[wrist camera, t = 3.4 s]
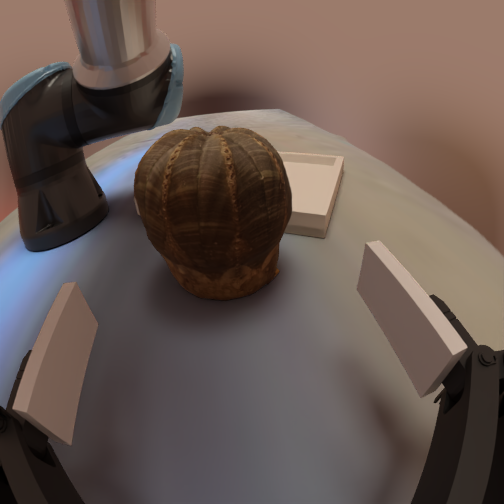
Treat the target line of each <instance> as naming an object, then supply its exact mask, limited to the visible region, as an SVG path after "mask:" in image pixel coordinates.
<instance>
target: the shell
mask: <svg viewBox="0 0 504 504" xmlns="http://www.w3.org/2000/svg"><path fill="white" fill-rule="evenodd" d="M134 197H135V199H136V202H137V205H138V209H139V213H140V215H141V218H142V222H143V224H144V227H145V229H146V232H147V236H148V239H149V240H150V241H151V243H152V245H153V246H154V247H155V249H156V250H157V251H158V252H160V254H161V255H162V257H163V258H164V259H165V261H166V263H167V265H168V267H169V269H170V271H171V273H172V274H173V276H174V277H175V278H176V280H177V281H178V283H179V284H180V285H181V286H182V287H183V288H184V289H185V290H187V291H188V292H190V293H192V294H194V295H195V296H197V297H199V298H207V299H216V300H230V299H235V298H240V297H243V296H247V295H250V294H253V293H255V292H256V291H257V290H259V289H260V288H262V287H263V286H264V285H266V284H269V283H270V282H271V281H272V280H273V279H274V277H275V276H276V275H277V274H278V273H279V272H280V271H279V270H278V269H277V261H278V257H279V243H280V240H281V238H282V236H283V233H284V231H285V229H286V227H287V224H288V222H289V220H290V218H291V214H292V192H291V187H290V183H289V179H288V176H287V173H286V169H285V167H284V164H283V161H282V158H281V157H280V155H279V153H278V152H277V150H275V149H274V147H273V146H272V145H271V144H270V143H269V142H268V141H267V140H266V139H265V138H264V137H262V136H261V135H259V134H257V133H256V132H253V131H252V130H249V129H245V128H232V129H231V128H229V127H226V126H218V127H216V128H214V129H213V130H212V131H211V132H209V133H208V132H206V131H204V130H203V129H201V128H199V127H193V128H191V129H190V130H184V129H179V130H173V131H170V132H168V133H166V134H164V135H163V136H162V137H161V138H160V139H159V140H158V141H156V142H155V143H154V144H153V145H152V146H151V147H150V148H149V150H148V151H147V152H146V153H145V155H144V156H143V157H142V159H141V161H140V162H139V165H138V168H137V170H136V172H135V179H134Z"/></svg>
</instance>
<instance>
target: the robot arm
mask: <svg viewBox="0 0 504 504" xmlns="http://www.w3.org/2000/svg"><path fill="white" fill-rule="evenodd" d="M64 1H65V5H66V9H67V13H68V16H69V20H70V23H71V26H72V30H73V33H74V36H75V39H76V42H77V46H78V49H79V51H80V53H79V54H78V56H77V57H76V59H75V62H74V65H73V68H72V67H71V66H70V64H69V63H67V62H57V63H53V64H50V65H48V66H46V67H44V68H43V67H42V68H39V69H37V70H35V71H33V72H31V73H29V74H27V75H26V76H24V77H22V78H21V79H20V80H18V81H17V82H16V83H14V84H13V85H12V86H11V87H10V88H9V89H8V90H7V91H6V92H5V93H4V95H3V97H2V99H1V102H0V121H1V123H0V129H1V130H2V134H3V140H4V144H5V149H6V153H7V157H8V161H9V166H10V169H11V173H12V177H13V180H14V184H15V187H16V191H17V195H18V213H19V226H20V234H21V237H22V239H23V242H24V244H25V247H26V248H27V249H28V250H32V251H40V250H46V249H50V248H53V247H56V246H59V245H61V244H64V243H66V242H68V241H70V240H72V239H74V238H76V237H78V236H80V235H82V234H83V233H85V232H87V231H88V230H90V229H91V228H93V227H94V226H95V225H97V224H98V223H99V222H100V221H101V220H102V219H103V218H104V217H105V216H106V214H107V213H108V210H109V207H108V203H107V200H106V196H105V194H104V192H103V191H102V189H101V187H100V186H99V184H98V183H97V181H96V179H95V178H94V176H93V175H92V173H91V171H90V170H89V168H88V167H87V165H86V162H85V158H84V153H83V146H86V145H89V144H92V143H95V142H99V141H103V140H106V139H110V138H114V137H118V136H122V135H126V134H131V133H135V132H140V131H144V130H152V129H154V128H155V127H158V126H162V125H166V124H169V123H171V122H173V121H174V120H175V119H176V118H177V116H178V114H179V112H180V108H181V104H182V97H183V84H182V82H183V73H184V72H183V71H184V70H183V57H182V53H181V49H180V47H179V46H178V45H176V44H171V43H170V40H169V38H168V37H167V35H166V34H165V33H164V32H163V31H161V30H159V29H157V28H156V2H155V0H64ZM357 291H358V292H359V294H360V295H361V297H362V298H363V300H364V302H365V303H366V305H367V306H368V308H369V310H370V311H371V313H372V314H373V316H374V318H375V319H376V321H377V322H378V324H379V326H380V327H381V329H382V331H383V332H384V334H385V336H386V337H387V339H388V341H389V342H390V344H391V346H392V347H393V349H394V351H395V353H396V354H397V356H398V358H399V360H400V361H401V363H402V365H403V367H404V368H405V370H406V372H407V374H408V376H409V377H410V379H411V381H412V383H413V385H414V387H415V388H416V390H417V392H418V394H419V396H420V398H422V397H424V396H426V395H428V394H430V393H432V392H434V391H436V389H437V388H438V387H439V386H440V384H441V383H442V384H443V385H444V387H445V388H444V389H443V390H442V391H441V392H440V394H439V395H438V396H437V397H436V398H435V401H434V403H437V401H438V400H439V399H440V398H441V401H440V403H439V404H440V407H439V412H438V417H437V421H436V426H435V430H434V434H433V438H432V442H431V446H430V450H429V453H428V456H427V460H426V463H425V466H424V469H423V472H422V475H421V478H420V481H419V484H418V486H417V489H416V492H415V494H414V497H413V499H412V502H411V504H504V350H501V351H493V350H492V349H491V348H490V347H488V346H486V345H479V346H478V345H477V344H476V343H475V341H474V340H473V339H472V337H471V336H470V335H469V333H468V332H467V331H466V329H465V328H464V327H463V325H462V324H461V323H460V321H459V320H458V319H456V316H455V315H454V314H453V313H452V312H451V311H450V309H449V308H448V306H447V305H446V304H445V303H444V301H442V300H441V299H439V298H438V297H436V296H435V295H434V294H433V295H430V296H428V295H427V293H426V292H425V291H424V290H423V289H422V287H421V286H420V285H419V284H418V283H417V281H416V280H415V279H414V278H413V277H412V276H411V274H410V273H409V272H408V271H407V270H406V269H405V268H404V267H403V265H402V264H401V263H400V262H399V261H398V260H397V259H396V258H395V257H394V256H393V254H392V253H391V252H390V251H389V250H388V249H387V248H386V247H385V246H384V245H383V244H382V243H381V242H380V241H373V242H366V244H365V250H364V255H363V261H362V266H361V271H360V276H359V281H358V285H357ZM98 325H99V324H98V323H97V321H96V319H95V317H94V315H93V314H92V312H91V310H90V308H89V306H88V304H87V302H86V301H85V299H84V297H83V295H82V293H81V291H80V289H79V287H78V285H77V282H71V283H63V285H62V287H61V289H60V291H59V293H58V295H57V297H56V299H55V301H54V303H53V305H52V307H51V309H50V311H49V313H48V315H47V317H46V319H45V322H44V324H43V326H42V328H41V330H40V333H39V335H38V337H37V340H36V342H35V345H34V347H33V349H32V350H29V352H28V353H27V354H26V356H25V357H24V358H23V360H22V363H21V366H20V368H19V371H18V374H17V377H16V378H17V379H16V380H15V382H14V385H13V388H12V391H11V395H10V398H9V401H8V404H7V408H6V410H5V409H4V408H3V407H1V406H0V504H85V503H84V502H83V500H82V499H81V497H80V496H79V494H78V493H77V491H76V490H75V488H74V486H73V485H72V483H71V481H70V480H69V478H68V476H67V475H66V473H65V471H64V469H63V467H62V466H61V464H60V462H59V460H58V458H57V456H56V454H55V452H54V450H53V448H52V446H51V445H50V444H49V443H48V442H47V441H48V437H49V438H51V439H52V440H54V441H55V442H56V443H60V444H65V445H70V446H72V438H73V432H74V425H75V419H76V414H77V408H78V403H79V398H80V393H81V389H82V384H83V380H84V376H85V372H86V368H87V364H88V360H89V356H90V352H91V349H92V345H93V341H94V338H95V335H96V331H97V328H98Z"/></svg>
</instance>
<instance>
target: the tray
mask: <svg viewBox="0 0 504 504" xmlns="http://www.w3.org/2000/svg"><path fill="white" fill-rule="evenodd" d="M278 153H279V155H280V157H281V158H282V161H283V164H284V167H285V169H286V173H287V176H288V179H289V183H290V187H291V192H292V214H291V218H290V220H289V222H288V224H287V227H286V229H285V231H284V233H291V234H298V235H305V236H312V237H319V238H325V234H326V231H327V228H328V224H329V221H330V217H331V214H332V211H333V207H334V203H335V200H336V196H337V193H338V189H339V185H340V182H341V178H342V174H343V168H344V157H339V156H329V155H318V154H306V153H292V152H278ZM134 201H135V205H136V209H137V213H138V215H140V213H139V209H138V205H137V202H136V199H135V197H134Z"/></svg>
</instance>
